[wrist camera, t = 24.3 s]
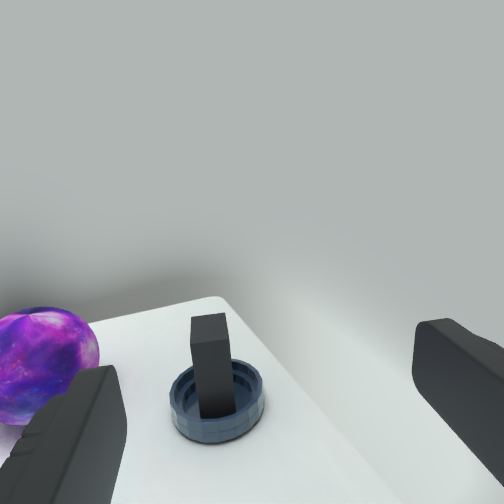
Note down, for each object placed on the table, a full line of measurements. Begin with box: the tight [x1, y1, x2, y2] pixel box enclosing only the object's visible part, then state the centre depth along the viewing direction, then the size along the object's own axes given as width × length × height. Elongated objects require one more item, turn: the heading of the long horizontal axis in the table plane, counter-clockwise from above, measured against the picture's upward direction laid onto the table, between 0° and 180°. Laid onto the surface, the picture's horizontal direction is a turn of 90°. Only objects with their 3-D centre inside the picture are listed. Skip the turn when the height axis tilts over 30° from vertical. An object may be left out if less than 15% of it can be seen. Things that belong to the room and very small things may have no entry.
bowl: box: [169, 359, 264, 443], centre depth 45 cm, size 12×12×4 cm
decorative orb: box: [0, 307, 99, 425], centre depth 45 cm, size 15×15×15 cm
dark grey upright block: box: [190, 313, 236, 419], centre depth 43 cm, size 4×6×12 cm
